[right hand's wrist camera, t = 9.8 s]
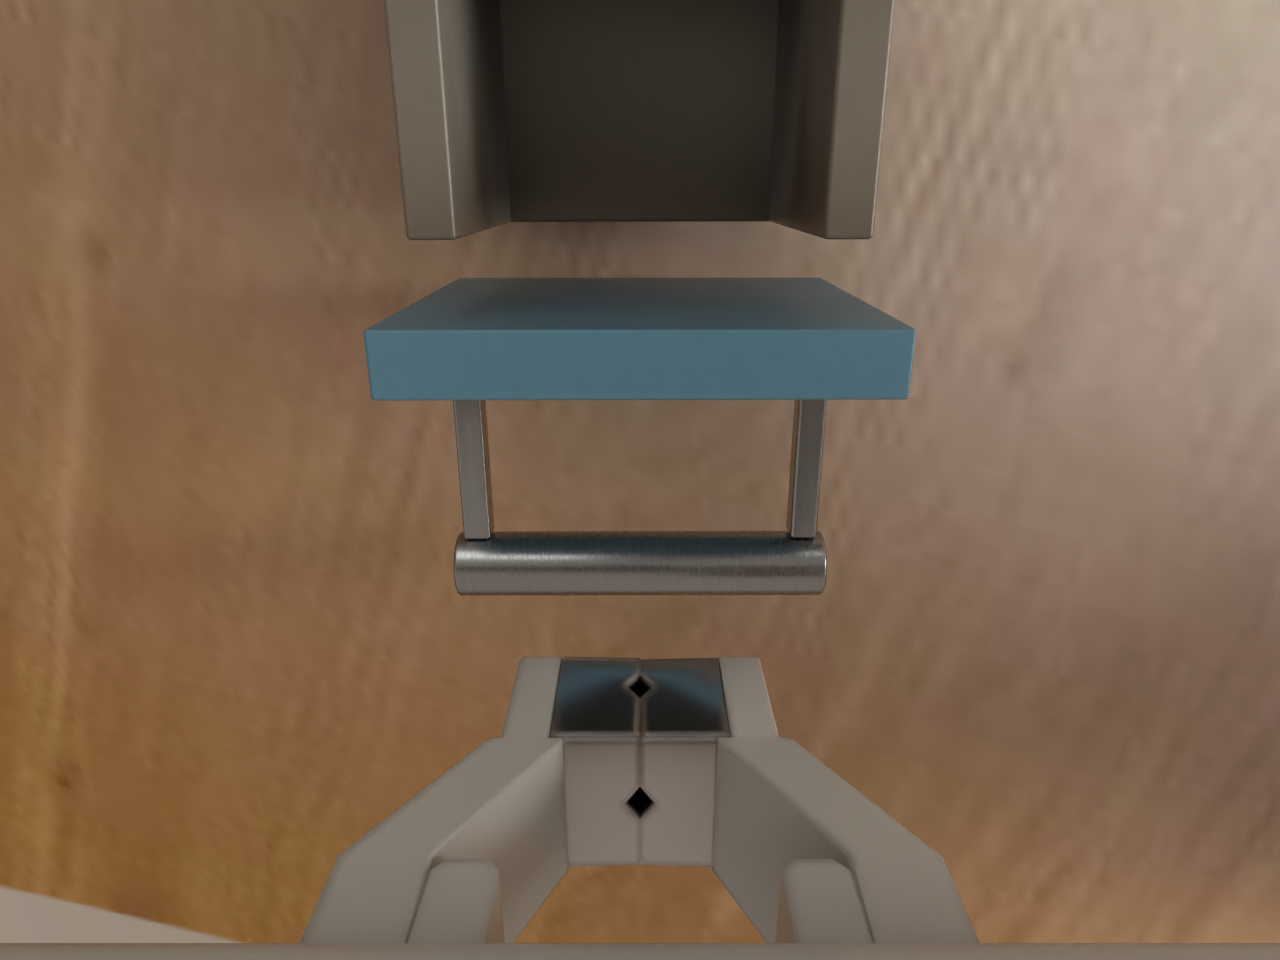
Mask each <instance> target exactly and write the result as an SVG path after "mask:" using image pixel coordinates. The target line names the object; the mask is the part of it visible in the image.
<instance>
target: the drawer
mask: <svg viewBox="0 0 1280 960" xmlns="http://www.w3.org/2000/svg"><path fill="white" fill-rule="evenodd" d="M894 4H895V0H384V5H385V16H386V26H387V37H388V47H389V57H390V68H391V78H392V89H393V99H394V109H395V120H396V130H397V140H398V151H399V161H400V172H401V182H402V192H403V203H404V213H405V223H406V234H407V237H408V239H410V240H454V239H457V238H460V237H463V236H466V235H470V234H473V233H476V232H479V231H482V230H485V229H488V228H491V227H495V226H498V225H501V224H504V223H507V222H665V221H771V222H774V223H777V224H780V225H783V226H787V227H790V228H793V229H796V230H799V231H803V232H806V233H809V234H812V235H815V236H819V237H822V238H825V239H870V238H872V236H873V230H874V219H875V208H876V197H877V187H878V176H879V165H880V154H881V144H882V133H883V122H884V111H885V101H886V90H887V79H888V68H889V58H890V47H891V36H892V25H893V15H894ZM915 338H916V330H915V329H914V328H912V327H910V326H908V325H906V324H905V323H903V322H901V321H899V320H897V319H895V318H893V317H892V316H890V315H888V314H886V313H884V312H882V311H880V310H879V309H877V308H875V307H873V306H871V305H869V304H867V303H866V302H864V301H862V300H860V299H858V298H856V297H854V296H853V295H851V294H849V293H847V292H845V291H843V290H842V289H840V288H838V287H836V286H834V285H832V284H830V283H829V282H827V281H825V280H823V279H821V278H460V279H458V280H456V281H454V282H452V283H450V284H449V285H447V286H445V287H443V288H441V289H439V290H438V291H436V292H434V293H432V294H430V295H428V296H427V297H425V298H423V299H421V300H419V301H417V302H416V303H414V304H412V305H410V306H408V307H406V308H405V309H403V310H401V311H399V312H397V313H395V314H394V315H392V316H390V317H388V318H386V319H384V320H383V321H381V322H379V323H377V324H375V325H374V326H372V327H370V328H368V329H366V330H365V331H364V339H365V347H366V355H367V364H368V372H369V381H370V389H371V397H372V399H373V400H453V407H454V419H455V431H456V443H457V455H458V467H459V479H460V491H461V503H462V515H463V527H464V532H461V533H460V534H459V536H458V538H457V541H456V546H455V553H454V579H455V585H456V589H457V592H458V593H459V594H460V595H819V594H821V593H822V592H823V590H824V587H825V583H826V575H827V557H826V548H825V543H824V539H823V536H822V534H821V533H820V532H818V531H817V518H818V506H819V493H820V480H821V468H822V455H823V443H824V430H825V418H826V405H827V399H907V398H908V397H909V390H910V381H911V373H912V364H913V355H914V347H915ZM485 400H795V404H794V419H793V435H792V450H791V465H790V480H789V495H788V511H787V526H786V527H787V530H788V531H546V532H493V530H494V518H493V503H492V489H491V474H490V460H489V445H488V431H487V416H486V402H485Z"/></svg>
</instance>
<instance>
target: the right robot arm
mask: <svg viewBox="0 0 1280 960" xmlns="http://www.w3.org/2000/svg"><path fill="white" fill-rule="evenodd" d="M634 864H644V865H679V866H712V870H713V871H714V873H715V874H716V875H717V877H718V878H719V879H720V881H721V882H722V883H723V885H724V886H725V887H726V889H727V890H728V891H729V893H730V894H731V896H732V897H733V898H734V900H735V901H736V902H737V904H738V905H739V906H740V908H741V909H742V910H743V912H744V913H745V914H746V916H747V917H748V918H749V920H750V921H751V922H752V924H753V925H754V926H755V928H756V929H757V930H758V932H759V933H760V934H761V936H762V937H763V938H764V940H765V941H766V942H767V943H514V941H515V940H516V939H517V938H518V936H519V935H520V934H521V932H522V931H523V930H524V928H525V927H526V926H527V924H528V923H529V922H530V920H531V919H532V918H533V916H534V915H535V914H536V912H537V911H538V910H539V908H540V907H541V906H542V904H543V903H544V902H545V900H546V899H547V898H548V896H549V895H550V894H551V892H552V891H553V890H554V888H555V887H556V886H557V884H558V883H559V882H560V880H561V879H562V878H563V876H564V875H565V874H566V872H567V871H568V866H600V865H634ZM0 960H1280V943H980V942H979V939H978V937H977V935H976V933H975V930H974V928H973V926H972V923H971V921H970V919H969V916H968V914H967V912H966V910H965V907H964V905H963V903H962V900H961V898H960V896H959V893H958V891H957V889H956V886H955V884H954V882H953V880H952V877H951V875H950V873H949V870H948V868H947V866H946V863H945V861H944V859H943V857H942V856H941V855H940V854H938V853H937V852H936V851H935V850H933V849H932V848H931V847H930V846H928V845H927V844H926V843H924V842H923V841H922V840H921V839H919V838H918V837H917V836H915V835H914V834H913V833H912V832H910V831H909V830H908V829H907V828H905V827H904V826H903V825H901V824H900V823H899V822H898V821H896V820H895V819H894V818H892V817H891V816H890V815H889V814H887V813H886V812H885V811H884V810H882V809H881V808H880V807H878V806H877V805H876V804H875V803H873V802H872V801H871V800H869V799H868V798H867V797H866V796H864V795H863V794H862V793H861V792H859V791H858V790H857V789H855V788H854V787H853V786H852V785H850V784H849V783H848V782H846V781H845V780H844V779H843V778H841V777H840V776H839V775H838V774H836V773H835V772H834V771H832V770H831V769H830V768H829V767H827V766H826V765H825V764H823V763H822V762H821V761H820V760H818V759H817V758H816V757H815V756H813V755H812V754H811V753H809V752H808V751H807V750H806V749H804V748H803V747H802V746H800V745H799V744H798V743H797V742H795V741H794V740H793V739H792V738H779V736H778V732H777V727H776V723H775V719H774V715H773V711H772V707H771V703H770V699H769V695H768V691H767V687H766V683H765V679H764V674H763V670H762V666H761V662H760V659H759V658H757V657H756V656H741V657H718V658H687V659H640V658H601V657H563V659H562V658H561V657H560V656H548V657H523V658H522V660H521V661H520V662H519V665H518V670H517V674H516V678H515V682H514V686H513V690H512V694H511V698H510V703H509V707H508V711H507V715H506V719H505V723H504V727H503V731H502V736H501V738H489V739H487V740H486V741H485V742H483V743H482V744H481V745H480V746H478V747H477V748H476V749H474V750H473V751H472V752H471V753H469V754H468V755H467V756H465V757H464V758H463V759H462V760H460V761H459V762H458V763H456V764H455V765H454V766H453V767H451V768H450V769H449V770H447V771H446V772H445V773H444V774H442V775H441V776H440V777H438V778H437V779H436V780H435V781H433V782H432V783H431V784H429V785H428V786H427V787H426V788H424V789H423V790H422V791H420V792H419V793H418V794H417V795H415V796H414V797H413V798H412V799H410V800H409V801H408V802H406V803H405V804H404V805H403V806H401V807H400V808H399V809H397V810H396V811H395V812H394V813H392V814H391V815H390V816H388V817H387V818H386V819H385V820H383V821H382V822H381V823H379V824H378V825H377V826H376V827H374V828H373V829H372V830H370V831H369V832H368V833H367V834H365V835H364V836H363V837H361V838H360V839H359V840H358V841H356V842H355V843H354V844H352V845H351V846H350V847H349V848H347V849H346V850H345V851H343V852H342V853H341V854H340V855H338V857H337V860H336V862H335V864H334V867H333V869H332V871H331V873H330V876H329V878H328V880H327V883H326V885H325V887H324V889H323V892H322V894H321V896H320V898H319V901H318V903H317V905H316V908H315V910H314V912H313V914H312V917H311V919H310V921H309V923H308V926H307V928H306V930H305V933H304V935H303V937H302V939H301V942H300V943H0Z"/></svg>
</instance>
